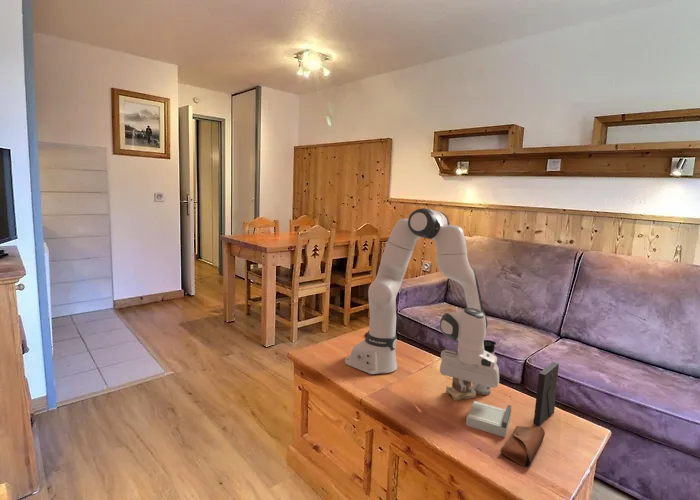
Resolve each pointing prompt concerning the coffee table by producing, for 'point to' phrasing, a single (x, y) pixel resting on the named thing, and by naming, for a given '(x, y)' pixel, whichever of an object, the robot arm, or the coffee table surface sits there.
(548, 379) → the picture frame
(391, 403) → the coffee table surface
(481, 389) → the travel mug
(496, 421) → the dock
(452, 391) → the pallet
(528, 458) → the sunglasses case
